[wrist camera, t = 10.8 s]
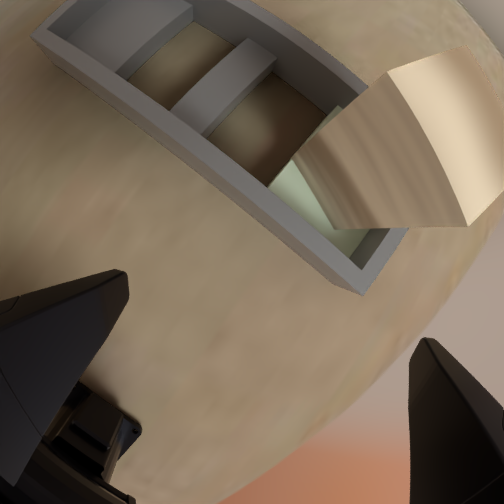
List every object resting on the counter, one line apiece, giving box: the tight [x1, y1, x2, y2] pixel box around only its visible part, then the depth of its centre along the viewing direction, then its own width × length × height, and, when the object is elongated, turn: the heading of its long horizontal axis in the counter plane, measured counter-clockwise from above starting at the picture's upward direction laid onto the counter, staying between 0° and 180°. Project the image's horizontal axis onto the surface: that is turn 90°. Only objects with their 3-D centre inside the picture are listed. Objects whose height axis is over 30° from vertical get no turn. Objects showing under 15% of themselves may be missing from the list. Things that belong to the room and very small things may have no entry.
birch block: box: [291, 45, 504, 230], centre depth 13 cm, size 5×5×11 cm
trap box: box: [30, 0, 409, 296], centre depth 17 cm, size 10×27×4 cm, turn 51°
